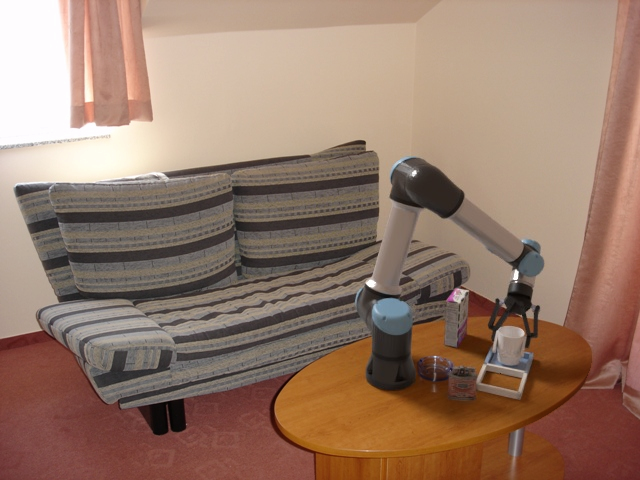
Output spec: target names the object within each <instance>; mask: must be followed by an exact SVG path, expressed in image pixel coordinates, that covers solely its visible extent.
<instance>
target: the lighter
mask: <svg viewBox="0 0 640 480" xmlns="http://www.w3.org/2000/svg"><path fill="white" fill-rule="evenodd" d="M447 375H448V382H447V383H448V385H447V388H448V389H447V393H446V397H447V398H448V399H450V400H451V401H452V400H453V401H461V402H473V401H474V402H475V401H476V398H477V395H476V392H477V390H476V382H477V378H478V375H479V374H477V373H476V367H475V366H464V365H463V364H462V365H459V366H455V365H454V366H453V368H452V371H449V372H448V374H447Z"/></svg>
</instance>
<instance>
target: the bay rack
mask: <svg viewBox="0 0 640 480" xmlns="http://www.w3.org/2000/svg"><path fill="white" fill-rule="evenodd" d="M493 345H494V344H492V345H491V346H490V349H489V350H488V353H487V355H486V357H485V360H484V362H483V364H482V367H481V369H480V371H479V373H478V374H477V375H478V377H477V382H476V391H479V392H483V393H488V394H493V395H497V396H501V397H505V398H510V399H514V400H519V401H521V400H522V396H523V393H524V389H525V386H526V383H527V379H528V376H529V373H530V370H531V366H532V363H533V360H534V354H535V353H534V352H528V351H525V352H524V357H523V359H521V358H520V362H519V364H517V365H512V366H510V365H505V364H502V363H500V362H499V361H498V359H497V354H498V351H497V349H496V353H493V351H492V349H493ZM497 347H498V345H497ZM487 371H488V372H492V373H497V374H500V373H501V374H500V375H505V376H509V377H513V378H514V377H515V378H520V379H521V381H520V383H519V388H518V390H513V389H509V388H505V387H500V386H495V385H491V384H486V383H482V381H483V379H484V376H485V375H486V372H487Z"/></svg>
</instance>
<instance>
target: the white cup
mask: <svg viewBox="0 0 640 480" xmlns="http://www.w3.org/2000/svg"><path fill="white" fill-rule="evenodd" d="M525 334H526V331H525V330H523V329H522V328H520V327H519V326H514V325H502V326H501V327H500V328H499V329H498V344H497V346H498V347H497V351H498V354H497V359H498V361H499V362H500V363H502V364H505V365H510V366H512V365H517V364H519V362H520V354H521V349H522V344H523V340H524V336H526V335H525Z"/></svg>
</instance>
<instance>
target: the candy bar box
mask: <svg viewBox="0 0 640 480" xmlns="http://www.w3.org/2000/svg"><path fill="white" fill-rule="evenodd" d="M469 295H470V290H468V289H463V288H457V287H455V288H454V289H453V291H452V292H451V294H450V295H449V296H448V297H447V299H446V300H445V320H444V342H443V344H444V346H445V347H452V348H459V347H460V345H461V343H462V342H463V340H464V338H465V337H466V335H467V334H468V330H467V329H468V317H469V316H468V314H469V298H470V296H469Z"/></svg>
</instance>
